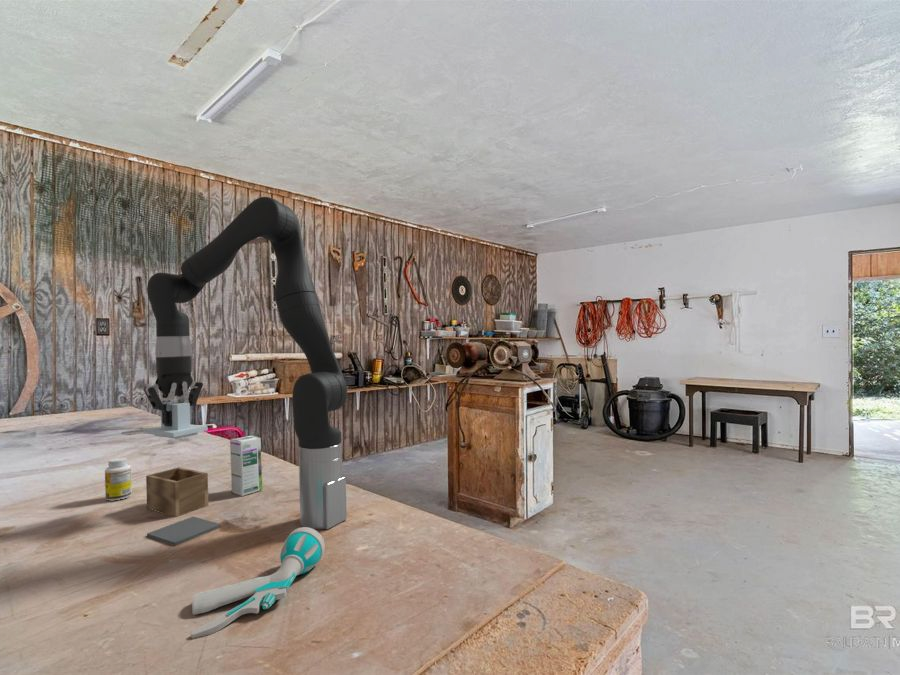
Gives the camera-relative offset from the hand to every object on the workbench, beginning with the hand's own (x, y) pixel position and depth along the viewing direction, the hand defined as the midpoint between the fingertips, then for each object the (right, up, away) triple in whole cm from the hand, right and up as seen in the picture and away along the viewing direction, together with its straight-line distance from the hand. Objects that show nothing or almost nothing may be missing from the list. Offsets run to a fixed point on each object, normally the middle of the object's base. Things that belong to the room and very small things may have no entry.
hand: (175, 424), depth 112 cm
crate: (0, -20, 0) cm, 20 cm away
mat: (+11, -20, -14) cm, 27 cm away
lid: (0, -3, 0) cm, 3 cm away
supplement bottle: (-19, -21, +7) cm, 30 cm away
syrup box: (+13, -20, +11) cm, 26 cm away
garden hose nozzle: (+38, -20, -38) cm, 57 cm away
